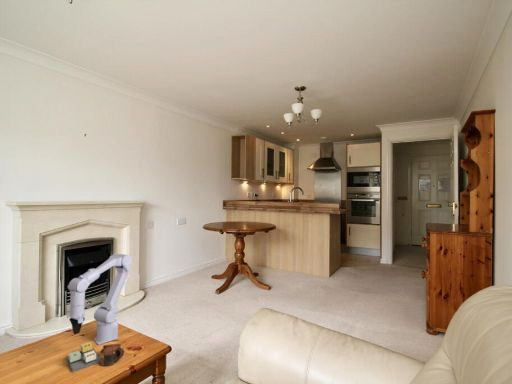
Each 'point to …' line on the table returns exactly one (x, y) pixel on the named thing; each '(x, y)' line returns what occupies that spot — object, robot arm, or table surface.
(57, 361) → the table surface
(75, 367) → the slate board
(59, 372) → the table surface
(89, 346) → the tile two mustard
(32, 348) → the table surface
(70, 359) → the tile one sage
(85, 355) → the tile three ivory
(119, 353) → the pottery mug
